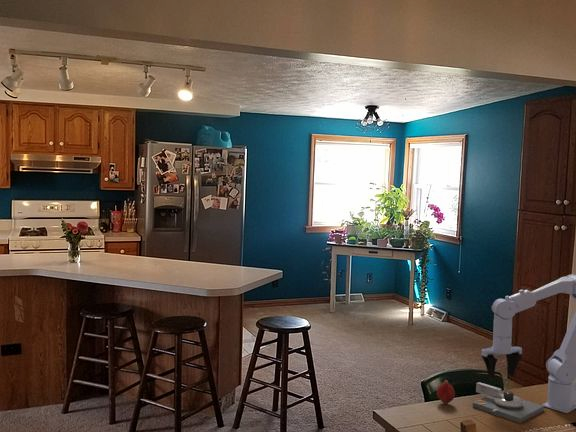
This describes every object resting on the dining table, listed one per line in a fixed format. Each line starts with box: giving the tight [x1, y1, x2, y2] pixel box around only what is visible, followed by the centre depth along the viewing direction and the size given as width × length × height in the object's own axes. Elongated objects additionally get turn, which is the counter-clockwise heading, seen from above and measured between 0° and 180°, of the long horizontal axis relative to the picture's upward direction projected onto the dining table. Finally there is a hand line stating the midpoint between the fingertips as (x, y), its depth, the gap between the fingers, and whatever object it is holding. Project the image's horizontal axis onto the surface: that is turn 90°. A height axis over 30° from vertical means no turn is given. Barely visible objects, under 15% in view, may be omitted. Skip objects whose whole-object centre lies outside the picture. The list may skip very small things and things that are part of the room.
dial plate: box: [472, 392, 545, 424], centre depth 177 cm, size 16×18×2 cm
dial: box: [475, 381, 524, 409], centre depth 179 cm, size 16×9×4 cm, turn 41°
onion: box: [436, 380, 456, 405], centre depth 180 cm, size 6×6×8 cm
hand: (500, 376), depth 180 cm, fingers open, 7 cm apart
